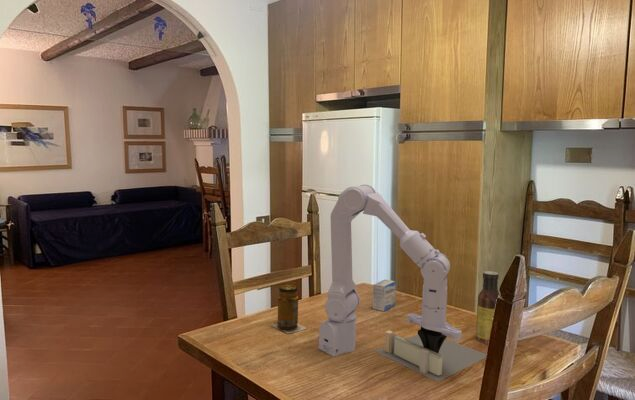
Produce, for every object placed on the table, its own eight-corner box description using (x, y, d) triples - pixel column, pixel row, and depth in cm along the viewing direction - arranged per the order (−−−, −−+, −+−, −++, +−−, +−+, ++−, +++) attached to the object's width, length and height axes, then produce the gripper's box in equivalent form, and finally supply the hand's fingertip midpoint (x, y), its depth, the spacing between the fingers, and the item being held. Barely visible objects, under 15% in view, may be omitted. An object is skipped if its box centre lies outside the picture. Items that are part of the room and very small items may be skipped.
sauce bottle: (501, 348, 125) (505, 276, 123) (477, 345, 126) (481, 275, 124) (496, 338, 131) (501, 270, 129) (473, 336, 133) (477, 269, 130)
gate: (390, 352, 119) (390, 335, 118) (393, 350, 119) (394, 333, 119) (438, 375, 107) (439, 356, 106) (441, 374, 107) (442, 355, 107)
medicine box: (383, 312, 151) (384, 286, 151) (372, 309, 154) (373, 283, 153) (395, 305, 158) (396, 281, 157) (383, 303, 160) (384, 278, 159)
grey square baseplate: (437, 384, 105) (439, 359, 104) (373, 353, 120) (374, 331, 119) (489, 358, 119) (491, 336, 118) (426, 333, 134) (427, 313, 133)
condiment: (290, 320, 143) (290, 282, 141) (307, 328, 136) (308, 289, 135) (270, 325, 138) (271, 286, 137) (287, 334, 131) (287, 294, 130)
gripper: (470, 309, 107) (467, 365, 109) (420, 294, 118) (418, 344, 120) (452, 316, 103) (449, 374, 104) (402, 299, 114) (400, 351, 115)
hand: (431, 359), depth 112 cm, fingers closed, pressing on gate
